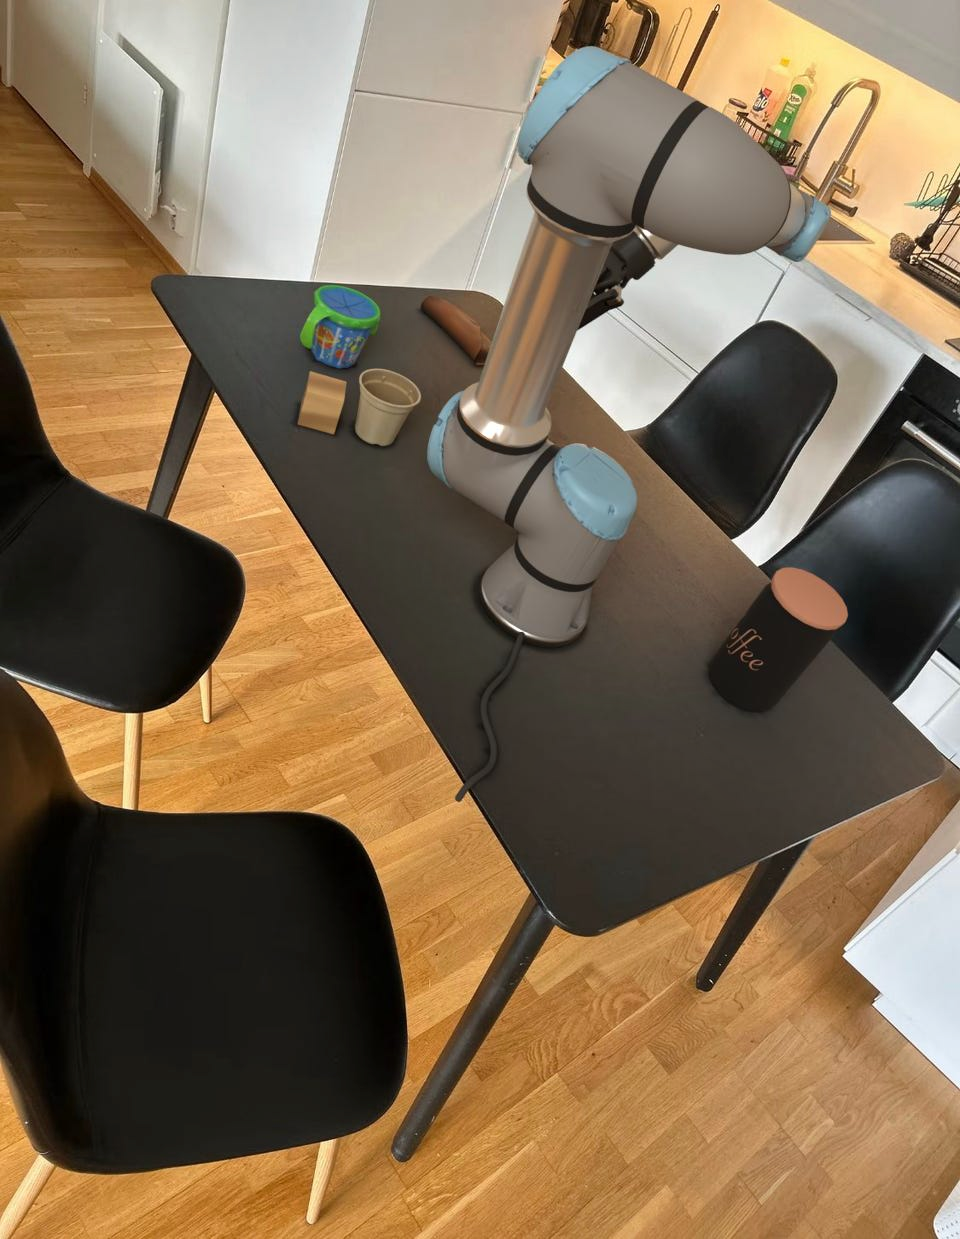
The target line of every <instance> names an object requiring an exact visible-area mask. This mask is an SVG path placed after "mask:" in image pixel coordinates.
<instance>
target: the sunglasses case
mask: <svg viewBox="0 0 960 1239" xmlns="http://www.w3.org/2000/svg"><path fill="white" fill-rule="evenodd" d="M420 310H422V311H423V312H424V313H425V314H426V315H427V316H429V317H430V319H432V320H433V321H434V322H435V323H437V325H439V326H440V327H441V328H442V329H443V330H444V331H445V332H446V334H448V335H449V336H450V337H451V338H452V339H454V341H455V342H456V344H457V345H458V346H459V347H461V349H462V350H464V352H465V353H466V354H467V355H468V356H469V357H470V358H471V360H473V361H474V363H475V365H476V366H478V367H479V366H484V365H485V362H486V359H487V356H488V353H489V350H490V347H491V344H492V341H491V340H490V339H489V337H488V336H487V335H486V334H485V333H484V331H482V327H481V326H480V325H479V324H478V323H477V322H476V321H475V320H474V319H473V318H471V316H470V315H468V314H466V312H464V311H463V310H461V308H459V307H457V305H454V304H452V303H451V302H449V301H448V300H445V299H443V298H441V297H439V296H436V295H429V296H427V297H425V298H424V299H423V301H422V302H421V305H420Z"/></svg>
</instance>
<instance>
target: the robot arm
mask: <svg viewBox="0 0 960 1239" xmlns="http://www.w3.org/2000/svg"><path fill="white" fill-rule="evenodd" d="M538 90H539V91H538V92H537V93H536V95H535V97H534V99H533V101H532V102H531V104H530V106H529V109H528V110H527V112H526V114H525V116H524V119H523V120H522V123H521V127H520V129H519V132H518V136H517V142H516V144H517V145H516V146H517V150H516V151H517V154H518V156H519V157H520V158H521V159H522V161H523V163H524V164H525V165H527V166H532V167H531V171H530V172H531V173H530V175H529V178H528V182H527V184H526V190H525V192H526V198H527V200H528V202H529V205H530V206H531V208H532V210H533V211H534V212H533V215H532V218H531V222H530V224H529V228H528V231H527V233H526V237H525V240H524V242H523V246H522V249H521V252H520V255H519V258H518V261H517V264H516V268H515V270H514V274H513V277H512V279H511V283H510V286H509V288H508V292H507V295H506V298H505V301H504V305H503V307H502V310H501V314H500V317H499V319H498V323H497V326H496V329H495V331H494V335H493V338H492V341H491V342H492V344H491V347H490V350H489V353H488V356H487V359H486V362H485V365H483V369H482V371H481V374H480V377H479V381H477V382H475V383H472V384H471V385H469V386H467V387H466V388H465V389H464V390H461V391H458V392H456V394H454V395H453V396H451V398H450V399H449V400H448V401H447V402H446V403H445V405H444V406H443V407H442V409H441V411H440V412H439V414H438V415H437V419H438V420H437V421H436V423H435V424H433V426H432V429H431V432H430V435H429V437H428V438H429V439H428V443H427V450H426V459H427V464H428V468H429V470H430V471H431V473H432V474H433V475H434V476H435V477H436V478H438V479H439V480H440V481H441V482H443V483H444V484H446V486H447V487H448V488H449V489H451V490H453V491H454V492H455V493H458V494H460V495H462V496H463V497H465V498H466V499H468V500H469V501H471V502H473V503H474V504H476V505H477V506H479V507H481V508H482V509H484V510H485V511H487V512H488V513H490V514H491V515H493V516H494V517H496V518H498V519H499V520H501V521H502V522H503V523H505V524H507V525H508V526H510V527H511V528H512V529H514V530H515V531H517V532H518V535H517V538H516V540H515V541H514V543H513V545H511V546H510V547H509V548H508V549H507V550H505V552H503V553H502V554H501V555H500V556H499V557H498V558H497V559H496V560H495V561H494V562H492V563H491V564H490V565H489V567H487V569H486V570H485V572H484V574H483V575H482V577H481V580H480V582H479V584H478V598H479V602H480V604H481V607H482V609H483V611H484V612H485V614H486V615H487V616H488V618H489V619H490V620H491V621H492V622H493V623H494V624H495V625H496V626H497V627H498V628H499V629H500V630H502V631H503V632H504V633H506V634H508V635H509V636H511V637H513V638H514V639H516V640H515V642H514V645H513V647H512V650H511V652H510V656H509V658H508V660H507V663H506V665H505V667H504V668H503V670H502V671H501V672H500V673H499V675H497V677H496V678H495V679H494V680H492V681H491V683H490V684H488V686H487V687H486V689H485V690H484V692H483V694H482V696H481V699H480V705H479V707H480V708H479V712H480V713H479V714H480V719H481V722H482V726H483V729H484V732H485V734H486V737H487V740H488V745H489V759H488V761H487V763H486V764H485V766H484V767H483V768H482V769H480V770H479V771H478V772H476V773H474V774H473V775H472V776H470V777H469V778H468V779H467V780H466V781H465V783H463V785H462V786H461V787H460V788H459V790H458V792H457V793H456V795H455V797H454V800H455V802H457V803H460V802H462V801H463V799H464V798H465V797H466V795H467V793H468V792H469V790H470V789H471V788H472V787H473V786H474V785H475V784H476V783H477V782H479V781H480V780H481V779H483V778H484V777H486V776H487V775H489V774H490V773H491V771H493V769H494V767H495V765H496V763H497V759H498V745H497V739H496V736H495V733H494V730H493V728H492V725H491V722H490V719H489V715H488V703H489V699H490V697H491V695H492V694H493V692H494V691H495V689H496V688H497V687H498V686H499V685H500V684H501V683H502V682H503V681H504V680H505V679H506V678H507V677H508V676H509V674H510V672H511V671H512V669H513V667H514V665H515V663H516V660H517V659H518V658H517V657H518V655H519V652H520V649H521V647H522V644H523V643H526V644H528V645H532V646H535V647H539V648H548V649H551V648H554V649H555V648H561V647H565V646H568V645H570V644H572V643H574V642H575V641H576V640H577V639H578V638H579V637H580V635H581V634H582V632H583V630H584V628H585V627H586V625H587V622H588V619H589V615H590V614H589V613H590V606H591V601H592V594H593V593H592V592H593V587H594V586H595V583H596V581H597V579H598V578H599V576H600V574H601V573H602V570H603V569H604V567H605V566H606V564H607V562H608V560H609V559H610V557H611V555H612V553H613V551H614V550H615V548H616V546H617V544H618V543H619V541H620V539H622V538H623V537H624V536H625V534H626V533H627V531H628V527H629V525H630V522H631V520H632V518H633V516H634V514H635V512H636V511H637V507H638V506H637V505H638V494H637V490H636V488H635V486H634V482H633V480H632V478H631V477H630V475H629V473H628V472H627V471H626V469H624V468H623V466H621V464H620V463H618V462H617V461H616V460H615V459H614V458H613V457H611V456H610V455H608V454H607V453H606V452H604V451H602V450H600V449H598V448H596V447H594V446H590V447H588V446H587V445H586V444H585V443H570V444H567V445H565V446H563V447H562V448H561V447H559V445H557V444H555V443H553V442H552V441H551V440H549V439H548V437H549V434H550V432H551V429H552V416H551V414H550V411H549V410H548V407H547V406H548V404H549V401H550V399H551V396H552V393H553V391H554V389H555V387H556V384H557V382H558V379H559V377H560V375H561V372H562V369H563V367H564V364H565V362H566V359H567V357H568V354H569V352H570V349H571V347H572V344H573V342H574V340H575V337H576V335H577V332H579V330H581V329H583V328H584V327H586V326H587V325H589V324H590V323H592V322H594V321H595V320H597V319H598V318H600V317H602V316H603V315H605V314H606V313H607V312H609V311H612V310H614V309H617V308H620V307H622V306H623V305H624V304H625V300H624V299H623V298H622V291H623V289H625V288H626V287H627V285H628V283H629V282H630V281H631V280H632V279H633V280H634V281H639V280H640V279H642V278H643V277H644V276H645V275H646V274H647V273H648V272H650V271H651V270H652V269H653V268H654V267H655V266H656V265H655V264H656V259H657V260H658V261H659V260H663V259H664V258H665V257H666V256H667V255H669V254H670V253H671V252H672V251H673V250H674V249H676V247H677V246H682V247H685V248H686V247H687V248H689V249H694V250H697V251H702V252H708V253H713V254H720V255H730V256H740V255H748V254H751V253H753V252H757V251H759V250H760V249H762V248H768V249H769V250H771V251H772V252H774V253H775V254H777V255H778V256H780V257H784V258H786V259H787V260H789V261H792V262H794V263H799V262H802V261H803V260H805V259H806V257H808V255H809V254H810V252H811V251H812V250H813V248H814V246H815V245H816V243H817V242H818V240H819V239H820V237H821V236H822V234H823V232H824V231H825V229H826V227H827V225H828V223H829V221H830V219H831V217H832V209H831V207H829V205H828V204H826V203H824V202H822V201H820V200H819V199H817V197H816V196H814V195H812V194H809V193H808V192H806V191H805V190H802V189H800V188H799V187H797V186H795V185H793V184H792V183H790V180H789V178H788V175H787V173H786V171H785V169H784V168H783V167H782V165H781V164H780V163H779V162H778V161H777V160H776V159H775V158H774V157H772V155H771V154H770V153H769V152H768V151H767V150H766V149H765V148H764V147H763V146H762V145H761V144H760V143H759V142H757V140H756V139H754V138H753V137H752V136H751V135H750V134H749V133H748V132H747V131H746V130H745V129H744V128H743V127H742V126H740V125H739V124H738V123H736V122H735V121H734V120H733V119H731V118H730V117H729V116H728V115H726V114H724V113H722V112H721V111H719V110H717V109H715V108H714V107H713V106H709V105H707V104H705V103H703V102H702V101H701V100H698V99H697V98H695V97H693V96H691V95H689V94H687V93H686V92H684V91H682V90H680V89H678V88H677V87H675V86H673V85H672V84H670V83H667V82H666V81H664V80H662V79H661V78H658V77H657V76H656V75H653V74H651V73H649V72H648V71H646V70H644V69H643V68H640V67H639V66H638V65H635V64H633V63H632V61H631V60H630V59H629V58H627V57H620V56H618V55H615V54H613V53H611V52H609V51H607V50H605V49H603V48H601V47H598V46H594V45H593V46H592V45H591V46H589V45H588V46H584V47H580V48H578V49H576V50H575V51H573V52H571V53H570V54H568V55H567V56H566V57H565V58H563V60H562V61H560V63H559V64H558V65H557V66H556V67H555V68H554V70H553V71H552V72H551V74H550V75H549V76H548V77H547V79H546V80H545V81H544V83H543V84H542V86H541V87H540V89H538ZM468 789H469V790H468Z"/></svg>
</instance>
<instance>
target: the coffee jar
mask: <svg viewBox="0 0 960 1239" xmlns="http://www.w3.org/2000/svg"><path fill="white" fill-rule="evenodd" d="M848 616H849V613H848V607H847V605H846V604H845V602H844V599H843V598H842V597H841V596H840V594H839V593H838V592H837V591H836V590H835V589H834V588H833V587H832V586H831V585H830V584H828V583H827V582H826V581H825V580H823V579H822V578H820V577H819V576H817V575H816V574H813V573H812V572H809V571H807V570H805V569H802V568H797V567H793V566H792V567H790V566H789V567H782V568H779V569H778V570H776V571H775V573H774V575H773V576H772V578H771V580H770V582H769V583H767V584H765V585H764V587H763V589H761V591H760V592H759V594H758V595H757V596H756V598H755V599H754V601H752V603H751V604H750V606H749V607H748V609H747V610H746V611H745V613H744V614H743V616H742V617H741V618H740V619H739V620H738V622H737V623H736V624H735V626H734V628H733V629H732V630H731V632H730V633H729V634H728V636H727V637H726V639H724V641H723V642H722V643H721V645H720V646H719V648H717V650H716V651H715V653H714V654H713V656H712V657H711V659H710V661H709V664H708V665H709V668H708V673H709V679H710V683H711V685H712V687H713V688H714V689H715V691H716V693H717V694H718V695H719V696H720V697H721V698H722V699H723V700H724V701H726V702H727V703H729V704H730V705H732V706H733V707H735V708H737V709H739V710H741V711H744V712H750V713H759V712H765V711H769V710H770V709H771V710H772V708H773V707H775V706H777V704H778V703H779V702H780V701H781V699H782V698H783V697H784V696H785V695H786V693H787V692H788V691H789V690H790V689H791V688H792V686H793V685H794V684H795V683H796V682H797V680H798V679H799V678H800V677H801V676H802V675H803V673H804V672H805V671H806V670H807V668H808V667H809V666H810V665H811V664H812V663H813V662H814V660H815V659H816V658H817V657H818V656H819V654H820V653H821V652H822V651H823V650H824V648H825V647H826V646H827V645H828V644H829V643H830V641H831V640H832V639H833V638H834V637H835V634H836V632H837V629H840V628H841V627H842V626H843V625H844V624H846V622H847V619H848Z"/></svg>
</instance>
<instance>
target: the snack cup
mask: <svg viewBox="0 0 960 1239" xmlns="http://www.w3.org/2000/svg"><path fill="white" fill-rule="evenodd" d="M313 297H314V299H313V301H314V308H313V309H312V311H310V313H309V315H308V317H307V318H306V321H305V322H304V325H303V327H302V330H301V332H300V334H299V339H300V342H301V343H302V345H303V346H304V347H305V348H307V349H311V354H313V356H314V357H315V359H316V361H318V362H321V363H323V364H324V365H326V366H329V367H332V368H335V369H338V370H341V369H348V368H350V367H352V366H354V365H355V364H356V362H357V361H358V359H359V357H360V355H361V352H362V350H363V349H364V347H365V344H366V343H367V340H368V338H369V336H375V335H376V333H377V331H378V328H379V322H380V320H381V309H380V306H378V304H377V303H376V302H375V301H374V300H373V299H372V298H370V297H369V296H367V295H366V294H364V293H362V292H360V291H358V290H356V289H354V288H351V287H347V286H343V285H338V284H337V285H336V284H326V285H322V286H320V287H318V288H317V289H316V290H315V291H314V293H313Z"/></svg>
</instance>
